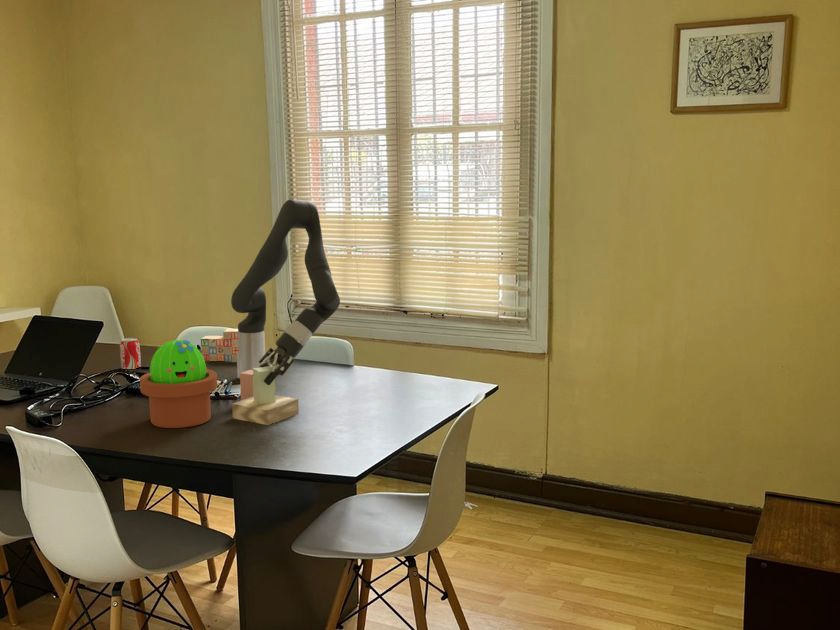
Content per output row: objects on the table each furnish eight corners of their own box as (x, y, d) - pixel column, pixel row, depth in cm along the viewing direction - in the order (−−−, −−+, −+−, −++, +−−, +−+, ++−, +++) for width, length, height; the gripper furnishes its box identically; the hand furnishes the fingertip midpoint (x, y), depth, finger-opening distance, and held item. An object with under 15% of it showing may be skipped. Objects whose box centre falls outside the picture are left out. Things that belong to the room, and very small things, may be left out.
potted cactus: (140, 414, 258) (135, 334, 253) (213, 406, 266) (209, 329, 261) (145, 435, 238) (139, 348, 233) (224, 426, 246) (220, 342, 241)
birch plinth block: (232, 419, 253) (232, 403, 253) (263, 408, 265) (262, 393, 264) (268, 426, 246) (268, 410, 246) (298, 414, 258) (298, 398, 257)
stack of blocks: (201, 361, 329) (199, 330, 327) (206, 358, 335) (205, 327, 333) (254, 362, 327) (253, 331, 325) (259, 359, 333) (258, 328, 331)
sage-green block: (253, 400, 256) (253, 368, 254) (269, 397, 258) (268, 366, 257) (259, 404, 252) (259, 371, 250) (275, 401, 254) (274, 369, 252)
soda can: (137, 373, 310) (135, 341, 308) (118, 373, 311) (116, 341, 308) (143, 368, 317) (142, 337, 315) (125, 368, 317) (123, 337, 315)
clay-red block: (241, 403, 269) (239, 373, 268) (251, 399, 274) (249, 369, 272) (253, 405, 267) (252, 374, 265) (263, 401, 271) (262, 371, 270)
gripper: (276, 327, 261) (242, 368, 257) (295, 335, 250) (261, 378, 245) (292, 342, 265) (259, 383, 261) (312, 350, 253) (278, 393, 249)
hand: (260, 380), depth 253 cm, fingers open, 8 cm apart
